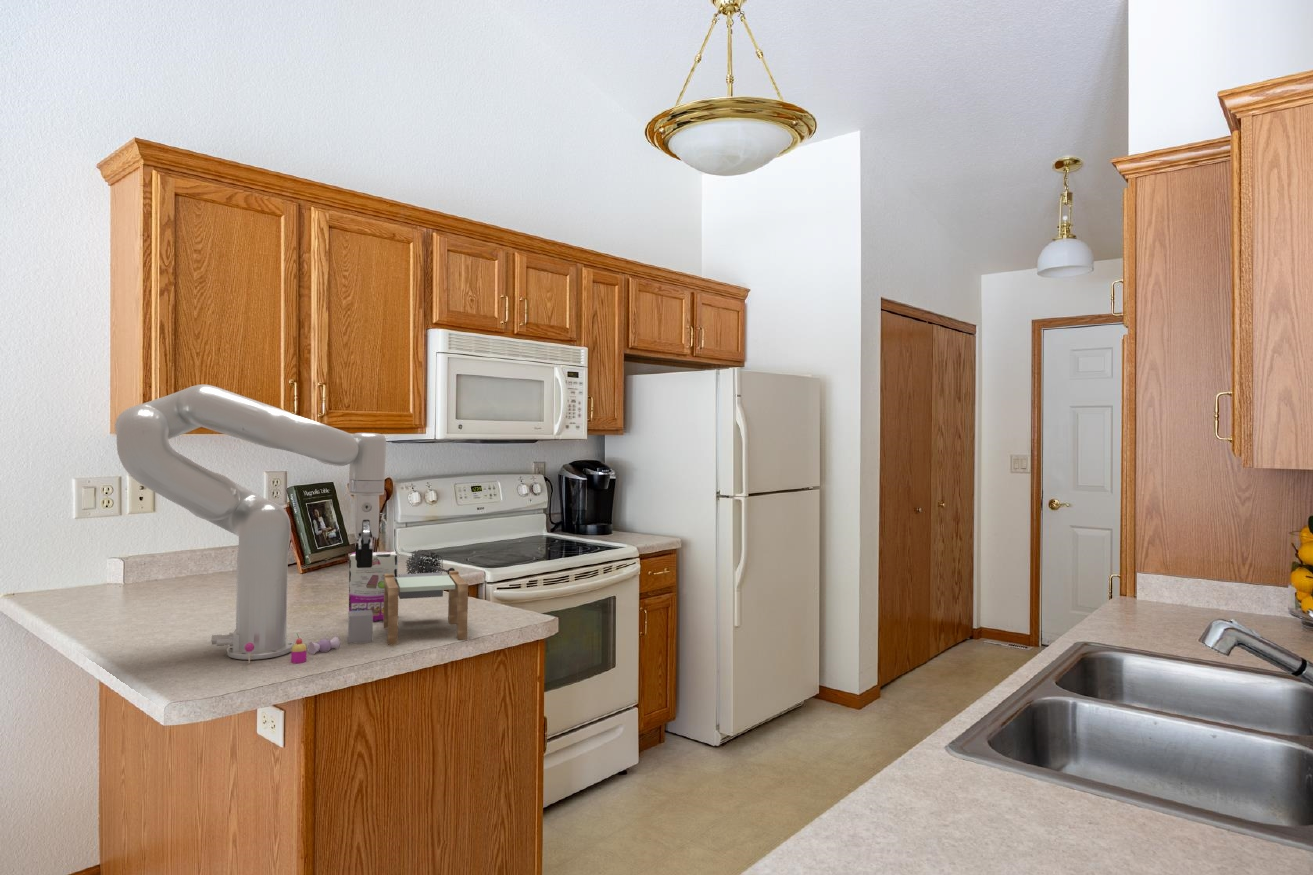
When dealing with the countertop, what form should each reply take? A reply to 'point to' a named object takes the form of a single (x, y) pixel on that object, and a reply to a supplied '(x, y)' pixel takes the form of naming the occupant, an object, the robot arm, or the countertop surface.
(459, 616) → the frame
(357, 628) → the light gray block
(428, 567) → the massage brush
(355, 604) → the candy bar box
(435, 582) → the trapdoor
